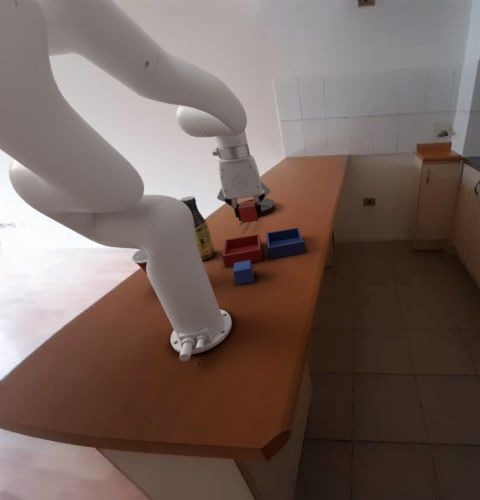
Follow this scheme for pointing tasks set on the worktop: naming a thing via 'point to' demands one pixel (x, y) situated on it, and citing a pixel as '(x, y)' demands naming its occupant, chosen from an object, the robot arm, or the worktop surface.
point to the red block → (248, 212)
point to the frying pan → (263, 206)
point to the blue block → (243, 272)
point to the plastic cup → (140, 259)
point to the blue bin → (285, 243)
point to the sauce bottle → (200, 229)
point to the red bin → (242, 250)
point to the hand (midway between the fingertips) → (249, 217)
